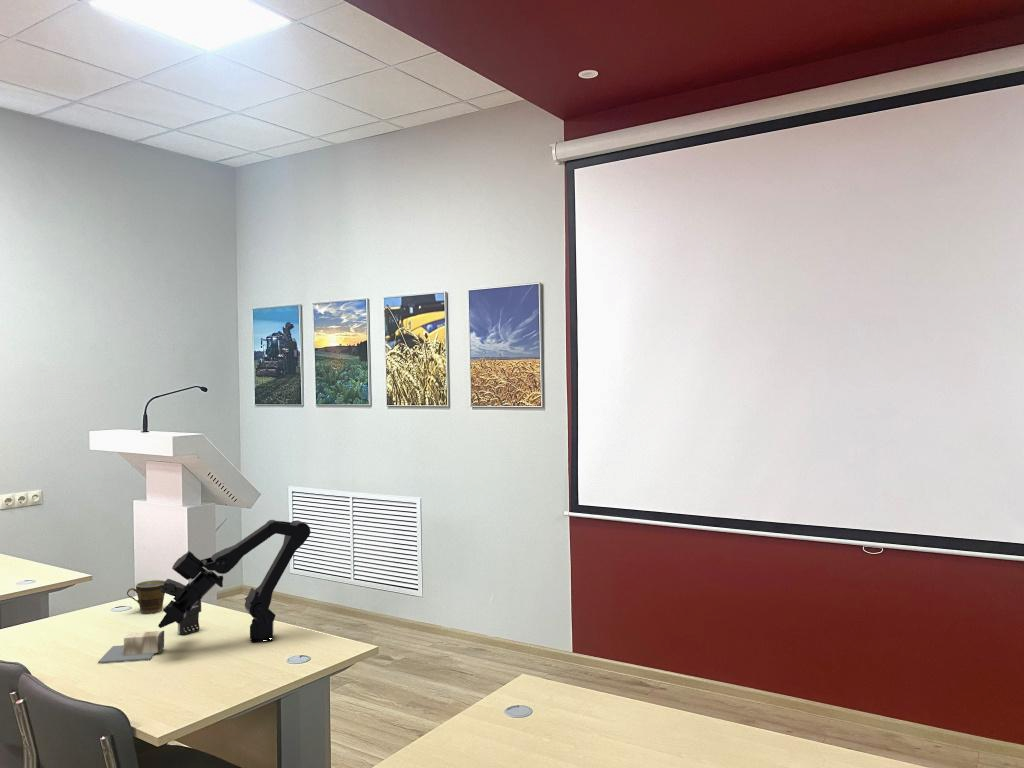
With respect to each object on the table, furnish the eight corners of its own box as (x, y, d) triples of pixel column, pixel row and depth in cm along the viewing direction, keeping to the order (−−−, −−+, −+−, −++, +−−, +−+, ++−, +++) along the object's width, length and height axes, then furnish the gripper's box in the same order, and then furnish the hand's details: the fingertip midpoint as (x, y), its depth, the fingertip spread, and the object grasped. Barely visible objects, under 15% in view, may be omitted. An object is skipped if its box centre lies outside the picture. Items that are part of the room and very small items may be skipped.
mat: (161, 644, 236) (161, 642, 236) (150, 660, 222) (150, 658, 222) (112, 647, 233) (112, 645, 233) (97, 663, 219) (97, 661, 219)
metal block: (164, 630, 232) (128, 632, 230) (160, 635, 227) (123, 638, 225) (164, 647, 232) (128, 649, 230) (160, 652, 227) (123, 655, 225)
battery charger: (183, 636, 244) (183, 600, 244) (176, 634, 246) (176, 599, 246) (203, 630, 250) (203, 595, 250) (195, 628, 252) (195, 594, 252)
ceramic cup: (161, 606, 279) (162, 578, 279) (170, 612, 271) (170, 583, 271) (123, 612, 271) (123, 584, 271) (130, 619, 263) (130, 590, 263)
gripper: (185, 563, 240) (147, 600, 237) (171, 577, 221) (130, 618, 219) (211, 587, 241) (174, 624, 239) (199, 603, 223) (159, 643, 220)
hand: (159, 626), depth 229 cm, fingers closed
